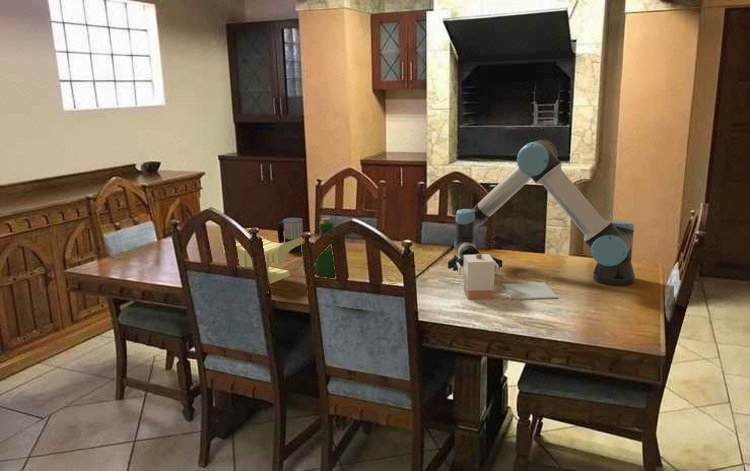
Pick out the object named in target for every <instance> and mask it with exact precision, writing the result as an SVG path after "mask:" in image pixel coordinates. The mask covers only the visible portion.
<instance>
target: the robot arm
mask: <svg viewBox="0 0 750 471" xmlns="http://www.w3.org/2000/svg"><path fill="white" fill-rule="evenodd" d="M516 163H517V166H515V167H514V168H513V170H511V171H510V172H509V173H508V174H507V175H506V176H505V177H504V178H503V179H502V180H501V181H500V182H499V183H498V184H497V185H495V187H493V189H491V190H490V191H489V192H488V194H486V195H485V196H484V197H483V198H482V199H481V200H480V201H479V202H478V203H476V204H475V206H474V207H472V208H462V209H458V210H456V213H455V240H454V242H453V243H454V245H453V246H454V250H455V252H456V253H457V254H454V255H453V257H452V258H451V259H450V260H448V261H447V268H448V269H449V270H450V269H452V271H453V272H456V271H457V274H458V275H459V276H461V275H462V267H464V255H476V254H481V253H480V251H479V250H478V248H477V247H476V245H475V229H477V228H479V227H480V226H482V225H484V224H485V223H486V222H487V221H488V219H489V218H490V217H491V216H492V215H494V214H495V213H496V212H497V211H498V210H499V209H500V208H502V207H503V205H505V204H506V202H508V201H509V200H510V199H511V198H512V197H513V196H514V195H515V194H517V192H519V191H520V190H521V189H522V188H523V187H524V186H525V185H526V184H528V182H529V181H531V180H532V181H533V182H534V183H535V184H536V185H538V184H539V185H541V186H543V187H544V188H545V189H546V191H547V192H548V193H549V194H550V196H551V197H552V198H553V199H554V201H556V203H557V204H558V205H559V206H560V208H561V209H562V210H563V211H564V212H565V213H566V215H567V216H568V217H569V219H571V221H572V222H573V223H574V224H575V225H576V226H577V228H578V229H579V230H580V231H581V233H582V234H583V235H584V237H583V241H584V242H585V244H586V245H587V246H588V247H589V249H590V252H591V253H590V254H591V256H592V257H593V259H594V260H595V261H596V262H597V263H596V264H595V267H594V269H593V272H592V279H593V280H594V281H595V282H597V283H600V284H603V285H608V286H609V285H610V286H628V285H633V284H634V283H635V282H634V281H636V280H635V278H636V274H635V272H634V271H635V270H634V267H633V263H632V257H633V256H632V255H633V243H634V233H635V226H634V223H632V222H627V221H622V220H621V221H619V220H605V219H604V218H603V217H602V216H601V215H600V214H599V212H598V211H597V210H596V209H595V208H594V207H593V205H592V204H591V203H590V202H589V200H588V199H587V198H586V197H585V196H584V195H583V193H582V192H581V191H580V190H579V189H578V188H577V186H576V185H575V184H574V183H573V182H572V181H571V179H570V178H569V177H568V176H567V174H566V173H565V172H564V171H563V170H562V162H561V161H560V160H559V159H558V151H557V149H556V146H555V145H554V144H553V143H552V142H551V141H550V140H546V139H538V140H535V141H531V142H529V143H526V144H525V145H524V146H523V147H522V148H520V150H519V151H518V153H517V155H516ZM490 256H491V257H492V259H493V260H494V261H495V267H494V273H495V274H496V275H499V274H500V268H503V260H502V259H499V258H498V257H494V256H492V255H490Z"/></svg>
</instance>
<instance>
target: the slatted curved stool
mask: <svg viewBox="0 0 750 471" xmlns="http://www.w3.org/2000/svg"><path fill="white" fill-rule="evenodd" d="M247 229H251V228H250V227H249V228H247ZM259 236H260V237H261V238H262V241H263V248H264V255H265V261H266V266H267V271H268V276H269V281H270V284H269V285H272V284H273V283H276V282H278V281H281V280H283V279H286V278H288V277H291V274H290V271H289V270H287V269H286V270H285V269H282V268H281V269H280V268H276V267H275V268H274V267H271V266H270V265H271V263H274V264H275V265H281V264H284V263H286V262H287V256H288V255H289V253H290V252H289V251H290V250H292V249H293V248H295V247H296V246H298V245H301V244H302V242H303V239H302V237H300V238H297V239H295V240H292V241H289V242H286V243H285V242H283V243H279V242H273V241H271V240H268V239H266V238H264V237H263V236H261V235H259ZM221 245H222V246H221V247H222V254H223V255H225V250H224V245H223V241H222V244H221ZM236 246H237V252H238V258H237V260H238V259H239V262H238V264H240V265H239V267H240V266H242V267H252V260H251V257H250V256H249V254H248V253H247V251H246V250H245V249H244V248H243V247H242V246H241V244H240V243H239V242H238V241H236Z"/></svg>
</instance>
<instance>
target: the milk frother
mask: <svg viewBox="0 0 750 471" xmlns="http://www.w3.org/2000/svg"><path fill="white" fill-rule="evenodd" d="M303 220H304V219H303V218H301V217H287V218H284V219H283V220H282V221H279V222H278V223H277V225H276V231H277V232H276V233H277V240H278V243H280V244H282V243H286V242H289V241H292V240H295V239H297V238H300V237H301V236H300V234H301V233H303ZM298 252H302V251H301V245H298V246H296V247H295V248H293V249H292V250H290V251H289V253H298Z"/></svg>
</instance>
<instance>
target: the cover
mask: <svg viewBox="0 0 750 471" xmlns="http://www.w3.org/2000/svg"><path fill="white" fill-rule="evenodd" d="M491 256H492V255H490V254H489V253H487V254H486V253H480V254H476V255H464V265H463V274H462V275H463V277H462V278H463V279H462V280H463V285H464V284H465V286H466V288H467V290H468V291H474V290H493V291H494V289H495V271H494V267H495V261H494V260H493V259H492V257H493V256H492V257H491Z"/></svg>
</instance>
